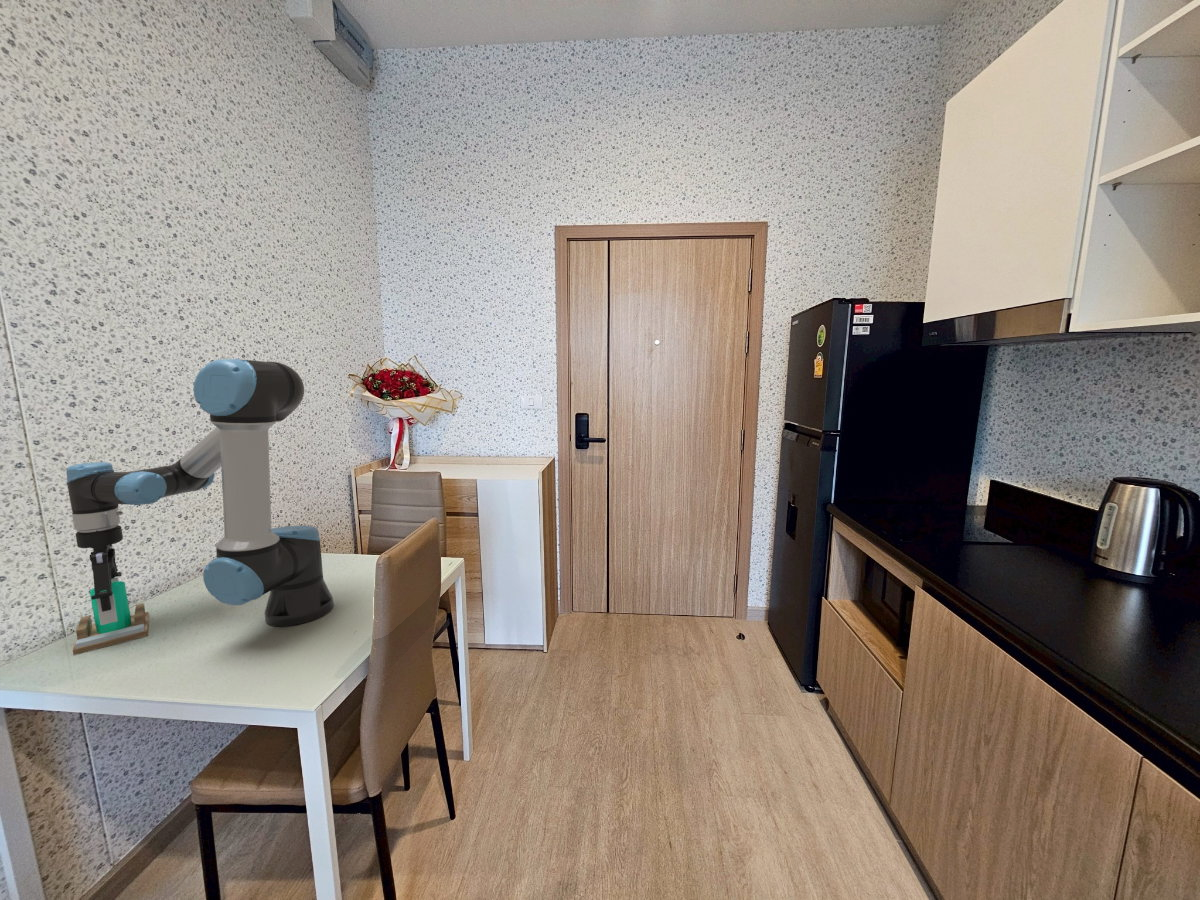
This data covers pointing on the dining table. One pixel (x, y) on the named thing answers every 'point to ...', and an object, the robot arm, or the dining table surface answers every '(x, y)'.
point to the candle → (121, 609)
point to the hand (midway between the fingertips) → (111, 613)
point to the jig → (89, 630)
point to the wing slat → (109, 635)
